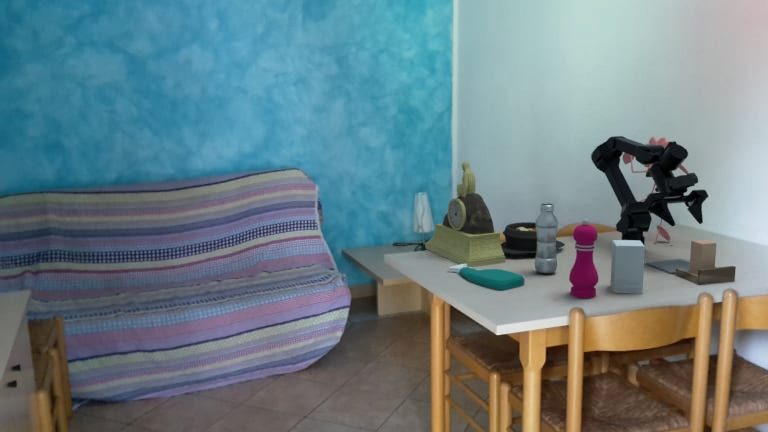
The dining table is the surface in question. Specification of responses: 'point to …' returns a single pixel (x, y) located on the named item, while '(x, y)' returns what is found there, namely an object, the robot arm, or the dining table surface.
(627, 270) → the supplement box
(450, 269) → the spray bottle
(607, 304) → the dining table surface
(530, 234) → the casserole
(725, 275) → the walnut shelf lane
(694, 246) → the peach block
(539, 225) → the plastic bottle
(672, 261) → the slate rubber mat
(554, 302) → the dining table surface
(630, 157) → the pink artificial flower
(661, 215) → the robot arm
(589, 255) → the pepper mill
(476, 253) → the decorative clock
